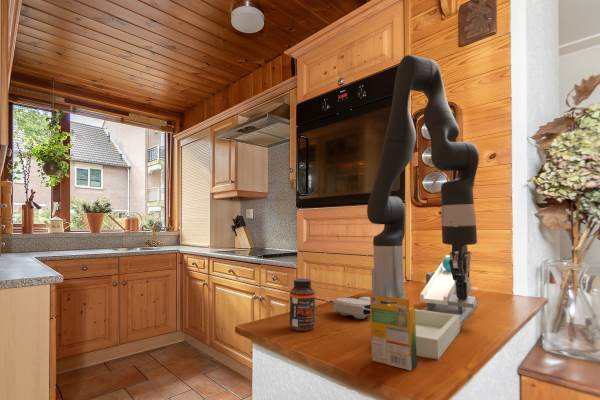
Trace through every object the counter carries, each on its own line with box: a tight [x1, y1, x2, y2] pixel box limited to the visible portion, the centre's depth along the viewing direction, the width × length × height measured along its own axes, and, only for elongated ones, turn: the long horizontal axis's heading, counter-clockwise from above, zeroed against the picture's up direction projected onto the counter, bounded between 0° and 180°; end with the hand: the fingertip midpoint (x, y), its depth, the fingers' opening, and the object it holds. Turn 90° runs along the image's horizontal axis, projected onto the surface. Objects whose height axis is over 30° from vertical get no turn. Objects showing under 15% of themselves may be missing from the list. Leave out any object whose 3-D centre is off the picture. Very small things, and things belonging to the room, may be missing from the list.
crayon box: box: [369, 294, 418, 372], centre depth 61 cm, size 7×3×12 cm, turn 52°
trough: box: [419, 254, 477, 308], centre depth 92 cm, size 12×26×6 cm, turn 145°
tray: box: [415, 308, 461, 360], centre depth 73 cm, size 12×20×4 cm, turn 145°
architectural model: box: [453, 276, 479, 296], centre depth 113 cm, size 3×7×7 cm, turn 42°
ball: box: [441, 257, 451, 271], centre depth 99 cm, size 4×4×4 cm
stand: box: [421, 271, 478, 328], centre depth 93 cm, size 11×27×10 cm, turn 145°
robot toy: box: [326, 296, 390, 320], centre depth 93 cm, size 12×4×15 cm
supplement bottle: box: [289, 278, 316, 332], centre depth 82 cm, size 6×6×11 cm
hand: (462, 297), depth 81 cm, fingers closed
